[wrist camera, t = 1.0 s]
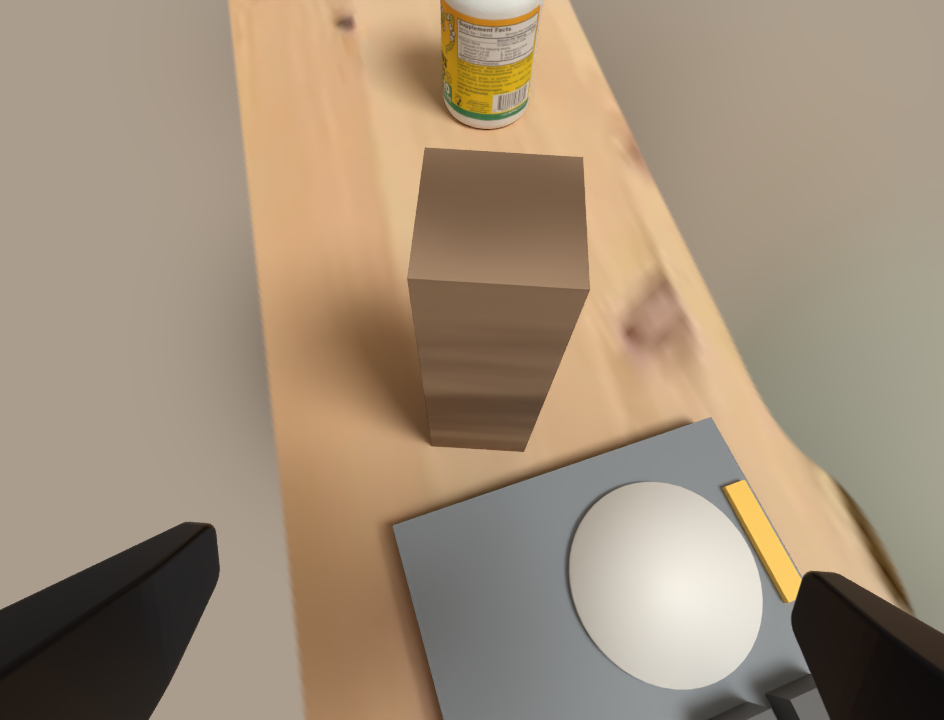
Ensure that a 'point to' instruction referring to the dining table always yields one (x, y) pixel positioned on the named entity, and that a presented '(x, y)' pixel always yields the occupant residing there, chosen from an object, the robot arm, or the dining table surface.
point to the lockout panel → (612, 593)
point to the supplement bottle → (488, 59)
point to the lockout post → (495, 289)
